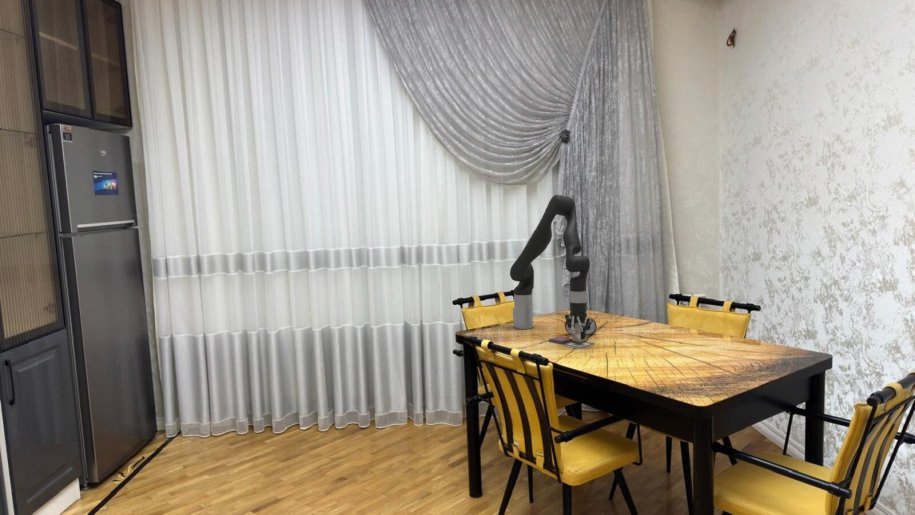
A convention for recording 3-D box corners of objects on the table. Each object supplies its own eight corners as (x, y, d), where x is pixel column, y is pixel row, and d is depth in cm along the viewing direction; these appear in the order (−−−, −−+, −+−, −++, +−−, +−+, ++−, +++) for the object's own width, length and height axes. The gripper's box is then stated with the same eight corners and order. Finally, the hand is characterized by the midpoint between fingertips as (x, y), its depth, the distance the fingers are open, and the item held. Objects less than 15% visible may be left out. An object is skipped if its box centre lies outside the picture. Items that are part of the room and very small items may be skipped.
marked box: (562, 345, 271) (562, 344, 271) (576, 340, 278) (576, 339, 277) (581, 349, 263) (581, 348, 263) (594, 344, 270) (594, 343, 270)
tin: (596, 333, 290) (596, 316, 289) (597, 335, 287) (596, 317, 286) (564, 334, 292) (564, 316, 291) (565, 335, 288) (564, 318, 287)
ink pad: (548, 341, 278) (548, 338, 278) (559, 338, 284) (559, 335, 283) (562, 344, 272) (562, 341, 272) (573, 341, 278) (573, 338, 277)
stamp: (571, 342, 271) (571, 322, 270) (577, 340, 274) (577, 320, 273) (579, 344, 267) (579, 323, 266) (586, 342, 270) (585, 321, 269)
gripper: (560, 300, 271) (560, 337, 273) (586, 303, 261) (586, 342, 262) (570, 297, 276) (571, 334, 278) (596, 301, 265) (597, 339, 267)
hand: (578, 338), depth 270 cm, fingers closed on stamp, 4 cm apart
